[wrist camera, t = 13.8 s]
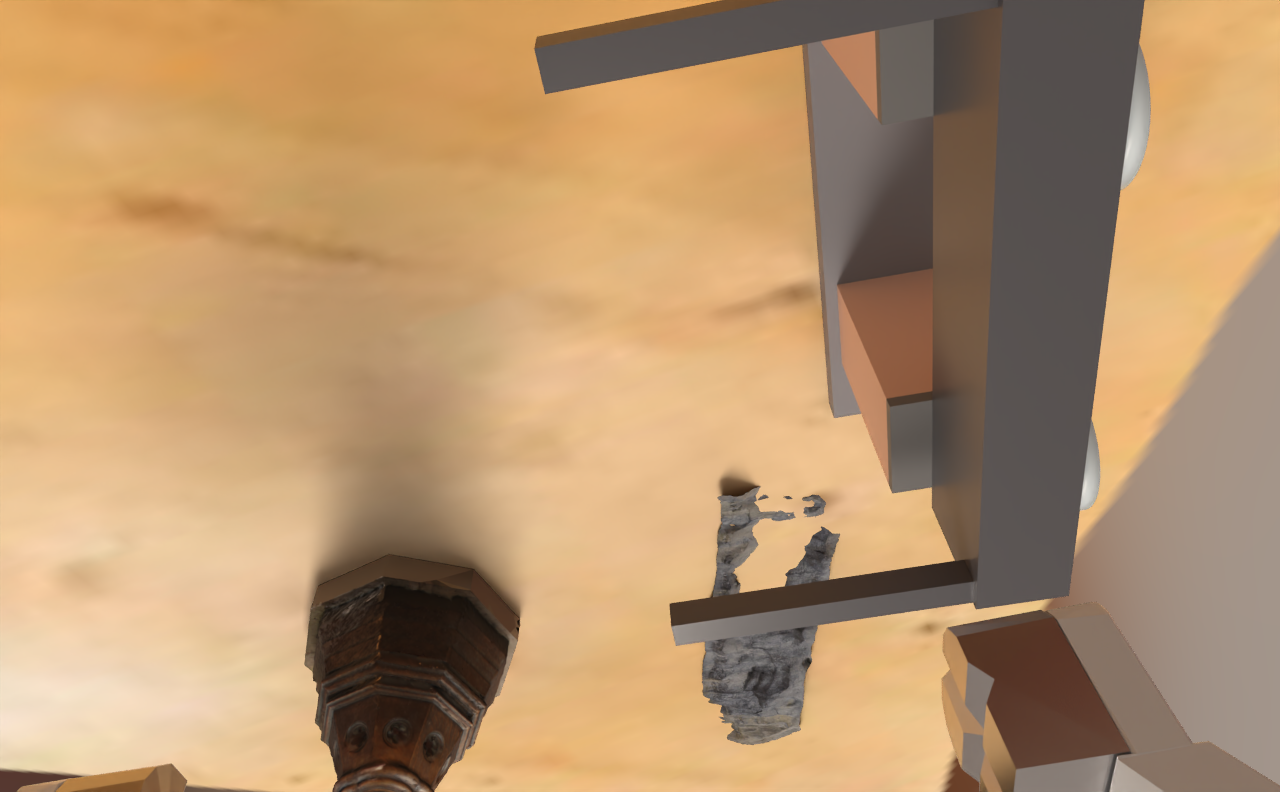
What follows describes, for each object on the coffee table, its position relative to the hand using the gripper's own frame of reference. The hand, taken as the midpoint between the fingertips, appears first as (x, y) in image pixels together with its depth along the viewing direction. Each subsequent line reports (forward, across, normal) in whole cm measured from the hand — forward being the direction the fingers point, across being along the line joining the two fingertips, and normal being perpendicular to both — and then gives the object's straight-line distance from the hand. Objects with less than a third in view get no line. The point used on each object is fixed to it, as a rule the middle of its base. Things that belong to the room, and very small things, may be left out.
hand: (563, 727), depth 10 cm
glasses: (+19, -7, +7) cm, 22 cm away
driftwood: (+30, -5, +34) cm, 46 cm away
